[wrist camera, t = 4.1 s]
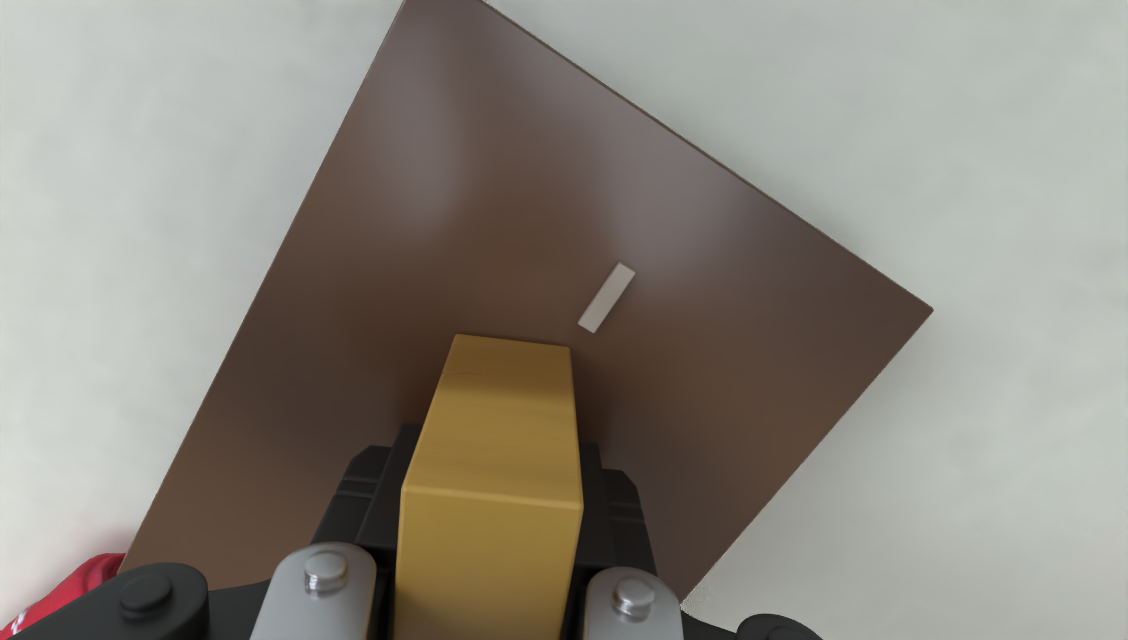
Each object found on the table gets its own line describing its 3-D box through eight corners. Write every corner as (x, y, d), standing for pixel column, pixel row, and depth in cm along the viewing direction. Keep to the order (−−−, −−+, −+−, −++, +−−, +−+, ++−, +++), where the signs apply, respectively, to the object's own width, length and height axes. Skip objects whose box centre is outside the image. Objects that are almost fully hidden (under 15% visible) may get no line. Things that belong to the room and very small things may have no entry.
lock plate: (449, -16, 13) (421, -43, 10) (865, 267, 15) (941, 313, 12) (185, 493, 17) (110, 581, 14) (547, 659, 19) (547, 765, 16)
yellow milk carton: (455, 331, 12) (395, 499, 8) (570, 345, 13) (586, 518, 8) (436, 547, 14) (377, 799, 9) (538, 557, 14) (533, 809, 9)
